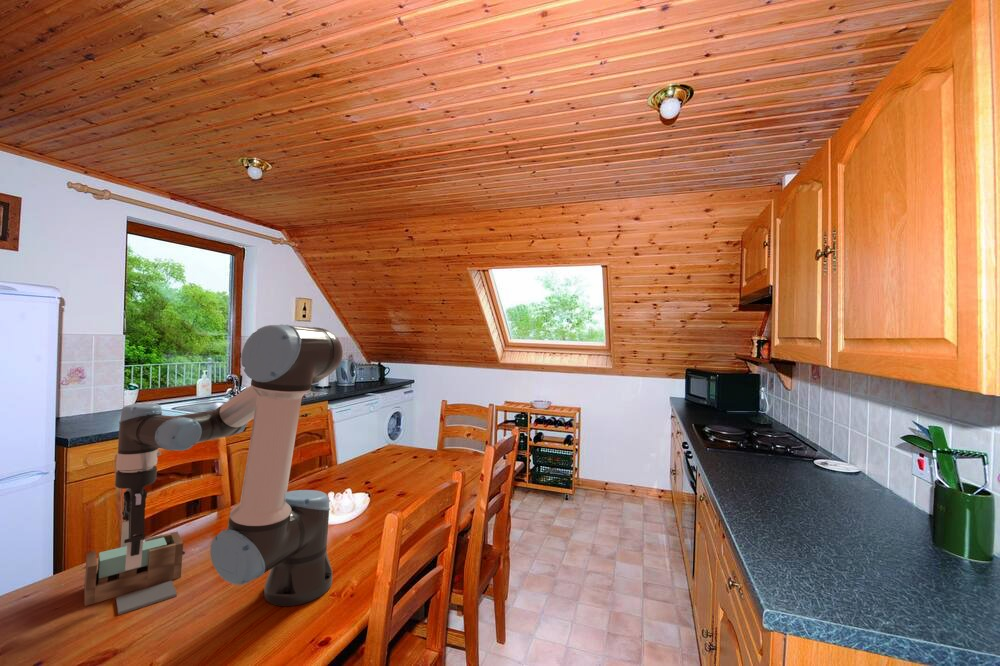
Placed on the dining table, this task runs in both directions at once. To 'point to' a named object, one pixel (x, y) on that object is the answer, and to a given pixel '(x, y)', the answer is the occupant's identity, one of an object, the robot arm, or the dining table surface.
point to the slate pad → (145, 597)
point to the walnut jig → (135, 572)
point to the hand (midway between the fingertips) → (130, 556)
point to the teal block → (124, 558)
